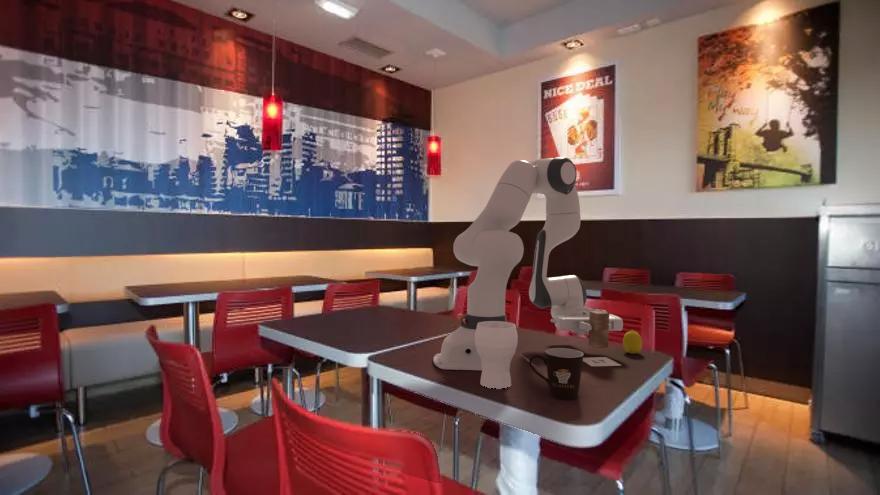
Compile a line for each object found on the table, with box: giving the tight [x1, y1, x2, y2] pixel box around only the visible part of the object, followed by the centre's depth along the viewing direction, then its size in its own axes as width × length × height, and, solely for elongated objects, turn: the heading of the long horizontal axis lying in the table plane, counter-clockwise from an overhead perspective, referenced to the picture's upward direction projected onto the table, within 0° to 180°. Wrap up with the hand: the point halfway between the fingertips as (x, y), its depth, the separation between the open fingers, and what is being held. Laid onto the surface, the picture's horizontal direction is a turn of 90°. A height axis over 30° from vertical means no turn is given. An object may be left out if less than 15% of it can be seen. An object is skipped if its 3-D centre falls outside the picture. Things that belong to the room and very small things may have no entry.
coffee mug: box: [528, 347, 584, 401], centre depth 104 cm, size 12×9×10 cm
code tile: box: [583, 356, 622, 367], centre depth 130 cm, size 9×9×1 cm
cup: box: [475, 321, 519, 390], centre depth 111 cm, size 11×11×15 cm
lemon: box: [622, 329, 643, 355], centre depth 140 cm, size 6×6×8 cm
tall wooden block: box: [588, 311, 610, 349], centre depth 129 cm, size 4×4×10 cm
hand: (600, 327), depth 129 cm, fingers closed on tall wooden block, 4 cm apart
